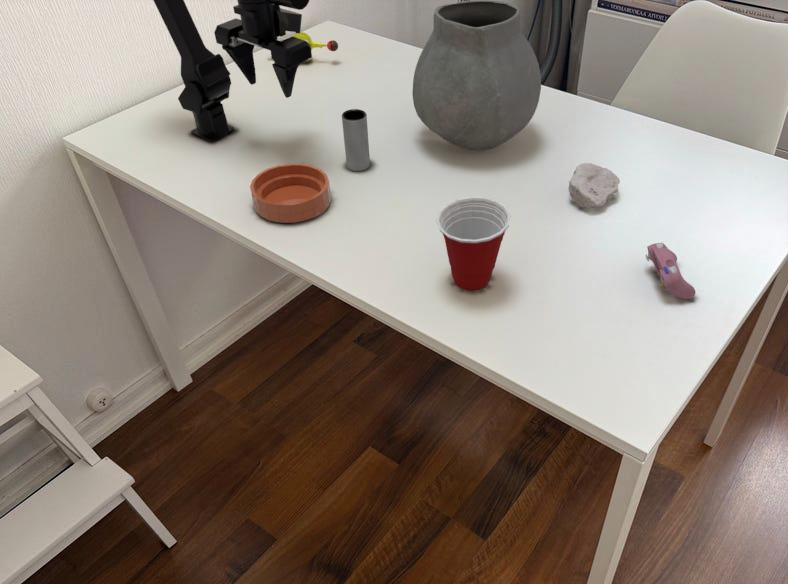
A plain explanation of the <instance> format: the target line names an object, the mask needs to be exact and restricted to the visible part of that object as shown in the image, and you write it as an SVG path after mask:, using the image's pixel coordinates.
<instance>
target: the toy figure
mask: <svg viewBox="0 0 788 584" xmlns="http://www.w3.org/2000/svg"><path fill="white" fill-rule="evenodd" d="M292 36H293V37H296V38H299V39H302V40H305V41H307V42H308V43H309V44H310V45H311V51H312V50H313V49H315V48H319V49H322V48H323V47H326V48H327V50H329V51H331V52H336V51H338V48H339V43H338V41H336V40H334V39H333V40H332V39H331V40H329V41H328V42H327V43H326V44H325V43H322V42H314V41H313V40H312V38H311V36H310V35H309V34H307V33H306V32H303V31H300V34H299V33H296V32H295V33H294V34H293V35H292ZM309 62H310V60H309V59H307V60H306V61H305V62H304V63H305V64H307V63H309Z"/></svg>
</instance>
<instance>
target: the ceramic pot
mask: <svg viewBox="0 0 788 584" xmlns="http://www.w3.org/2000/svg"><path fill="white" fill-rule="evenodd" d="M412 79H413V80H412V92H411V93H412V101H413V107H414V109H415V112H416V115H417V116H418V118H419V119H420V121H421V122H422V123H423V125H425V127H427V128H428V129H429V130H430V131H431V132H433V133H434V134H435V135H437V136H439V137H440V138H441V139H443V140H444V141H446V142H448V143H449V144H450V145H452V146H455V147H458V148H461V149H465V150H469V151H487V150H492V149H495V148H498V147H500V146H502V145H503V144H505V143H506V142H508V141H510V140H511V139H513V138H514V137H515V136H517V135H518V134H519V133H520V132H521V131H523V130H524V129H525V128H526V127H527V126H528V124H530V122H531V120H532V119H533V117H534V115H535V113H536V110H537V108H538V106H539V102H540V98H541V97H540V95H541V90H542V77H541V70H540V64H539V61H538V58H537V56H536V54H535V51H534V49H533V47H532V45H531V43H530V42H529V41H528V39H527V38H526V37H525V35H524V33H523V32H522V30H521V12H520V8H518V6H516V5H515V4H513V3H510V2H506V1H500V0H461V1H456V2H454V3H453V2H452V3H448V4H442V5H439V6H437V7H436V8H435V9H434V12H433V29H432V32H431V34H430V36H429V38H428V39H427V41H426V42H425V45H424V47H423V49H422V51H421V52H420V55H419V57H418V60H417V62H416V65H415V69H414V73H413V78H412Z"/></svg>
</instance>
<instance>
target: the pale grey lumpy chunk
mask: <svg viewBox="0 0 788 584" xmlns="http://www.w3.org/2000/svg"><path fill="white" fill-rule="evenodd" d="M568 182H569V183H568V194H569V196H570V198H571V200H572V201H573V202H574V203H575V204H576V205H578V206H580V207H582V208H588V209H590V208H599V207H603V206H605V205H606V203H607V202H609V201H610V200H612V199H613V198H614V194H616V193H618V191H619V184H620V182H621V180H620V178H619V177H618V175H616V174H615V173H614V172H613V171H612V170H610V169H608V168H607V167H602V166H600V165H596V164H595V163H591V162H583V163H580V164H578V165H577V166H576V167H575V170H574V171H573V175H572V177H571V179H570V180H569V181H568Z"/></svg>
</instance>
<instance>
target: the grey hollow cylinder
mask: <svg viewBox="0 0 788 584" xmlns="http://www.w3.org/2000/svg"><path fill="white" fill-rule="evenodd" d="M341 125H342V133H343V134H342V135H343V144H344V153H345V165H346V167H347V168H348V170H350V171H354V172H362V171H366V170H367V169H369V168H370V166H371V155H370V143H369V131H368V129H369V128H368V115H367V112H366V111H364V110H363V109H358V108H352V109H347V110H345V111H343V112H342V114H341Z"/></svg>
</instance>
